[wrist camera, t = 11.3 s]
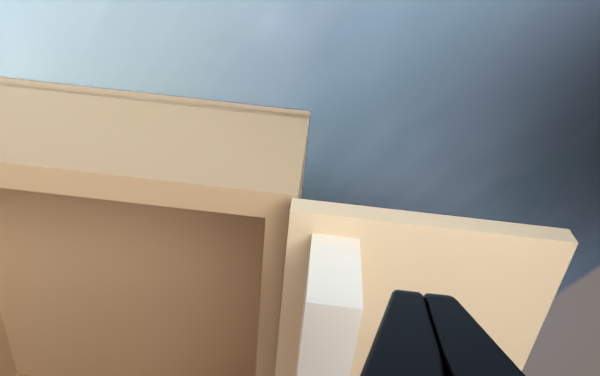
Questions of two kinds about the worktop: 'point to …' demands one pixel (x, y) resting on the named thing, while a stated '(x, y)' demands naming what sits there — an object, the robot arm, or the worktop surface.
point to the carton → (142, 231)
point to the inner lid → (408, 279)
